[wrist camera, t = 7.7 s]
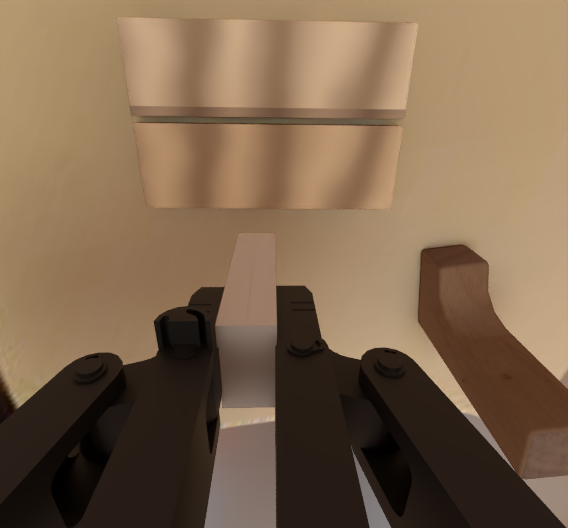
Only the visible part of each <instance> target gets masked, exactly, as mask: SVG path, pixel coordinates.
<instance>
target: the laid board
mask: <svg viewBox="0 0 568 528" xmlns="http://www.w3.org/2000/svg"><path fill="white" fill-rule="evenodd" d="M116 21H117V27H118V33H119V40H120V46H121V52H122V58H123V65H124V71H125V77H126V84H127V90H128V96H129V102H130V110H131V116H205V117H283V118H362V119H404V118H405V111H406V103H407V96H408V90H409V83H410V76H411V69H412V62H413V56H414V49H415V42H416V35H417V28H418V23H374V22H323V21H272V20H220V19H169V18H118V17H116Z"/></svg>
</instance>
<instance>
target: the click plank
mask: <svg viewBox="0 0 568 528" xmlns="http://www.w3.org/2000/svg"><path fill="white" fill-rule="evenodd" d="M133 126H134V132H135V139H136V145H137V152H138V158H139V164H140V171H141V177H142V184H143V190H144V197H145V203H146V208H282V209H391V206H392V199H393V192H394V185H395V178H396V171H397V164H398V157H399V150H400V143H401V136H402V129H403V126H398V125H328V124H247V123H165V122H137V123H133Z"/></svg>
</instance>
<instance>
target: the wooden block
mask: <svg viewBox="0 0 568 528" xmlns="http://www.w3.org/2000/svg"><path fill="white" fill-rule="evenodd" d="M488 275H489V265H488V263H487V261H486V260H484V259H483V258H482V257H480V256H479V255H478V254H476V253H475V252H474V251H472V250H471V249H470V248H468V247H467V246H464V245H461V246H453V247H445V248H436V249H428V250H424V251H423V252H422V264H421V283H420V302H419V321H418V322H419V324H420V325H421V327H422V328H423V330H424V331H425V333H426V334H427V336H428V338H429V339H430V341H431V342H432V344H433V345H434V347H435V348H436V350H437V351H438V353H439V354H440V356H441V358H442V359H443V361H444V362H445V364H446V365H447V367H448V368H449V370H450V371H451V373H452V375H453V376H454V378H455V379H456V381H457V382H458V384H459V385H460V387H461V388H462V390H463V391H464V393H465V395H466V396H467V398H468V399H469V401H470V402H471V404H472V405H473V407H474V408H475V410H476V411H477V413H478V415H479V416H480V418H481V419H482V421H483V422H484V424H485V425H486V427H487V428H488V430H489V431H490V433H491V434H492V436H493V438H494V439H495V441H496V442H497V444H498V445H499V447H500V448H501V450H502V451H503V453H504V455H505V456H506V458H507V459H508V461H509V462H510V464H511V465H512V467H513V468H514V470H515V472H516V473H517V474H518V475H519V476H520V478H522V479H534V478H544V477H554V476H565V475H568V389H567V388H566V387H565V386H564V385H563V384H562V383H561V382H560V381H559V380H558V379H557V378H556V377H555V376H554V375H553V374H552V373H551V372H550V371H549V370H548V369H546V368H545V367H544V366H543V365H542V364H541V363H540V362H539V361H538V360H537V359H536V358H535V357H534V356H533V355H532V354H531V353H530V352H529V351H528V350H527V349H526V348H525V347H524V346H523V345H522V344H521V343H520V342H519V341H518V340H517V339H516V338H515V337H514V336H513V335H512V334H511V333H510V332H509V331H508V330H507V329H506V328H505V326H504V325H503V324H502V322H501V321H500V319H499V318H498V316H497V315H496V313H495V312H494V309H493V306H492V302H491V299H490V296H489V293H488Z"/></svg>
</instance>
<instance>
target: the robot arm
mask: <svg viewBox="0 0 568 528" xmlns="http://www.w3.org/2000/svg"><path fill="white" fill-rule="evenodd" d="M154 326H155V331H156V337H157V343H158V348H159V350H158V352H157V355H156V356H155V357H153V358H151V359H148V360H144V361H141V362H136V363H132V364H128V365H123V363H122V360H121V359H120V358H119V357H118V356H117V355H115V354H112V353H95V354H90V355H86V356H84V357H82V358H79V359H77V360H75V361H73V362H72V363H70V364H69V365H68V366H66V367H65V368H64V369H63V370H61V371H60V372H59V373H58V374H57V375H56V376H55V377H53V378H52V379H51V380H50V381H49V382H48V383H47V384H46V385H44V386H43V387H42V388H41V389H40V390H39V391H38V392H36V393H35V394H34V395H33V396H32V397H31V398H30V399H29V400H27V401H26V402H25V403H24V404H23V405H22V406H21V407H19V408H18V409H17V410H16V411H15V412H14V413H13V414H12V415H10V416H9V417H8V418H7V419H6V420H5V421H4V422H2V423H1V424H0V528H204V525H205V519H206V512H207V506H208V499H209V493H210V487H211V481H212V474H213V468H214V461H215V455H216V448H217V442H218V436H219V430H220V416H219V408H220V402H221V399H222V408H252V407H275V429H276V430H275V444H276V528H369V523H368V519H367V515H366V510H365V506H364V501H363V497H362V493H361V488H360V484H359V479H358V475H357V471H356V466H355V462H354V457H353V453H352V450H353V452H354V454H355V456H356V458H357V460H358V462H359V464H360V466H361V468H362V470H363V472H364V474H365V476H366V478H367V480H368V482H369V484H370V486H371V488H372V490H373V492H374V494H375V496H376V498H377V500H378V502H379V504H380V506H381V508H382V510H383V512H384V514H385V516H386V518H387V520H388V522H389V524H390V526H391V528H566V527H565V526H564V525H563V524H562V523H561V522H560V520H558V518H557V517H556V516H555V515H554V514H553V513H552V512H551V511H550V509H549V508H548V507H547V506H546V505H545V504H544V503H543V502H542V501H541V500H540V498H539V497H538V496H537V495H536V494H535V493H534V492H533V491H532V490H531V489H530V487H529V486H528V485H527V484H526V483H525V482H524V481H523V480H522V479H521V478H520V476H519V475H518V474H517V473H516V472H515V471H514V470H513V469H512V468H511V467H510V465H509V464H508V463H507V462H506V461H505V460H504V459H503V458H502V457H501V456H500V454H498V452H497V451H496V450H495V449H494V448H493V447H492V446H491V445H490V444H489V442H488V441H487V440H486V439H485V438H484V437H483V436H482V435H481V434H480V433H479V431H478V430H477V429H476V428H475V427H474V426H473V425H472V424H471V423H470V422H469V420H468V419H467V418H466V417H465V416H464V415H463V414H462V413H461V412H460V410H459V409H458V408H457V407H456V406H455V405H454V404H453V403H452V402H451V401H450V399H449V398H448V397H447V396H446V395H445V394H444V393H443V392H442V391H441V390H440V389H439V387H438V386H437V385H436V384H435V383H434V382H433V381H432V380H431V379H430V378H429V376H428V375H427V374H426V373H425V372H424V371H423V370H422V369H421V368H420V367H419V365H418V364H417V363H416V362H415V361H414V360H413V359H411V358H410V357H409V356H408V355H406V354H404V353H402V352H400V351H398V350H395V349H390V348H374V349H371V350H368V351H367V352H366V353H365V354H364V355H363V356H362V358H361V360H359V359H354V358H349V357H345V356H342V355H339V354H337V353H335V352H333V351H332V350H330V349H329V347H328V345H327V344H326V342H325V340H323V339H322V338H321V333H320V328H319V323H318V319H317V314H316V311H315V305H314V300H313V295H312V293H311V292H310V291H309V290H308V289H307V288H306V287H305V286H276V263H275V233H239V234H238V238H237V241H236V245H235V249H234V253H233V257H232V261H231V265H230V269H229V273H228V277H227V281H226V285H225V287H201V288H200V289H199V290H198V291H196V292H195V293H194V294H193V295H192V296H191V299H190V301H189V304H188V306H186V307H177V308H174V309H171V310H168V311H166V312H164V313H162V314H161V315H159V316H158V317H157V318H156V319H155V321H154ZM351 446H352V449H351Z"/></svg>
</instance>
